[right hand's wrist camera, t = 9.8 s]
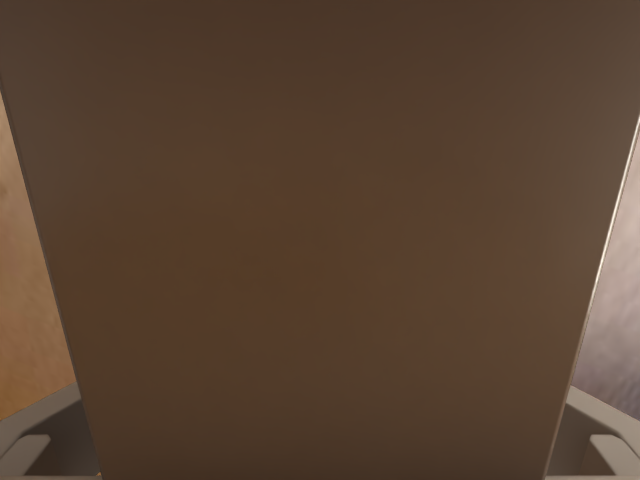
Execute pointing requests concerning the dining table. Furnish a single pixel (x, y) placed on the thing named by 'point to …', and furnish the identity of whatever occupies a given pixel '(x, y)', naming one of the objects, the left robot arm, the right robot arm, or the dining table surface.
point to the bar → (323, 224)
